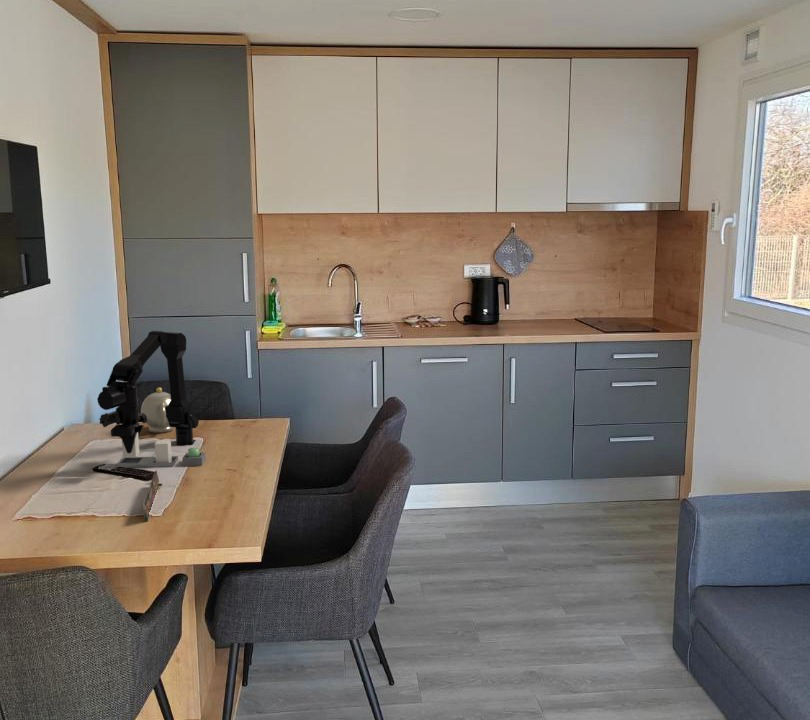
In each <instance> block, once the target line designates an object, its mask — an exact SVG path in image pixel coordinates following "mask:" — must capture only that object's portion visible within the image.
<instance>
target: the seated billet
mask: <svg viewBox="0 0 810 720" xmlns="http://www.w3.org/2000/svg"><path fill="white" fill-rule="evenodd" d="M154 450H155V451H154V453H155V456H154V457H156V463H159V462H171V461H172V455H173V454H172V442H171V440H169V439H168V440H167V439H166V440H164V439H163V440H162V439H161V440H157V441H156V442H155V443H154Z"/></svg>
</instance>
